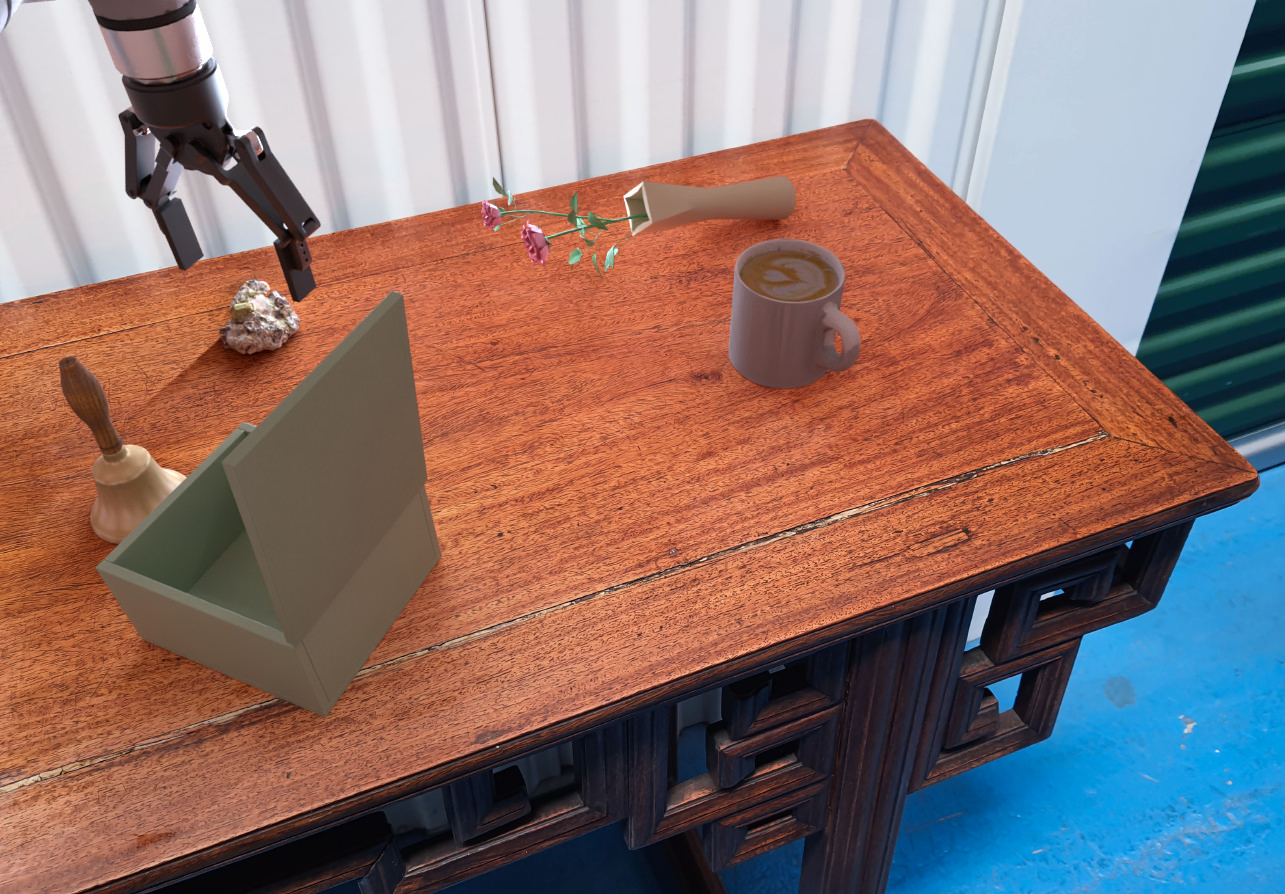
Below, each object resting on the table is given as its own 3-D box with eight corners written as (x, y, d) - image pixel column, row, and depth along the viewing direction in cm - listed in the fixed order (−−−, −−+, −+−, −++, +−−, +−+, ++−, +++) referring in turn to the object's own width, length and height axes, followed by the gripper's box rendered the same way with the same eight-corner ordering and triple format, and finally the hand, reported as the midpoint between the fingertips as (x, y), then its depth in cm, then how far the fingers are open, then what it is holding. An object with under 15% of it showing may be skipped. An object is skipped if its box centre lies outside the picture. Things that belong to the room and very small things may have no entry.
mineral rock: (300, 333, 96) (209, 327, 93) (298, 369, 98) (210, 363, 96) (302, 272, 103) (218, 264, 100) (300, 307, 106) (219, 300, 103)
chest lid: (220, 461, 50) (233, 467, 50) (392, 289, 60) (403, 293, 60) (286, 642, 63) (296, 647, 63) (418, 476, 73) (428, 479, 73)
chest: (141, 639, 74) (94, 567, 68) (273, 495, 84) (243, 421, 78) (325, 718, 70) (293, 648, 63) (442, 556, 80) (424, 482, 73)
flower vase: (773, 289, 116) (497, 326, 99) (728, 212, 121) (457, 235, 104) (821, 217, 107) (524, 245, 90) (769, 137, 112) (479, 149, 95)
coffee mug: (708, 343, 98) (713, 258, 91) (790, 311, 101) (801, 227, 94) (789, 424, 90) (801, 339, 83) (875, 387, 93) (894, 301, 86)
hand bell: (144, 459, 87) (68, 315, 76) (216, 489, 85) (149, 345, 73) (69, 524, 82) (-25, 380, 71) (143, 559, 79) (58, 415, 68)
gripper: (321, 69, 80) (377, 284, 95) (86, 23, 87) (173, 230, 102) (262, 111, 75) (330, 331, 90) (18, 59, 82) (120, 270, 97)
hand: (247, 278), depth 96 cm, fingers open, 13 cm apart
